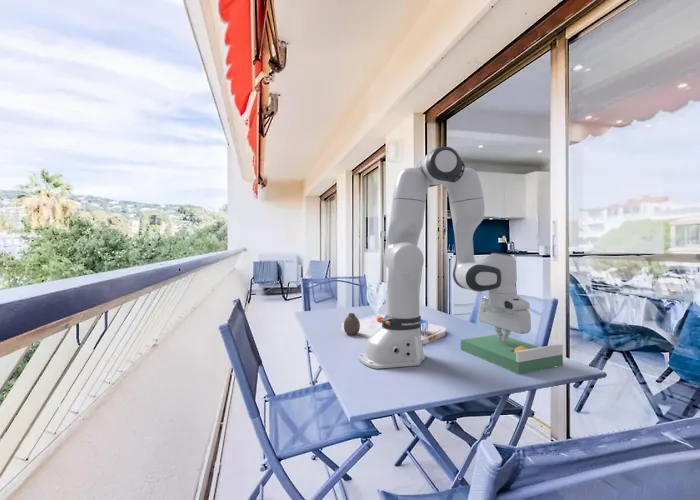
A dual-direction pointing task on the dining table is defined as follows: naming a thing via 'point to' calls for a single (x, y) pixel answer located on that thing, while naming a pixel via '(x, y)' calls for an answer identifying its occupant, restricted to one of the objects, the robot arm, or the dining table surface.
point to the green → (512, 361)
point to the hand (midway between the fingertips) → (502, 340)
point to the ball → (520, 348)
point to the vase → (351, 324)
